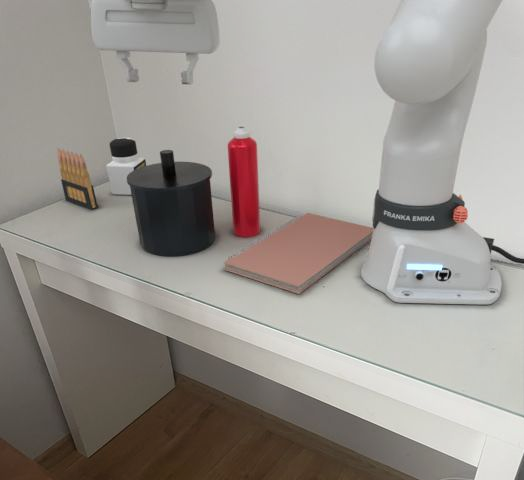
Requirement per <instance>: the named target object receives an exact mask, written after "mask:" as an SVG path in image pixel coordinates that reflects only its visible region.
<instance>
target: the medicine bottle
mask: <svg viewBox="0 0 524 480" xmlns="http://www.w3.org/2000/svg"><path fill="white" fill-rule="evenodd" d="M108 146H109V149H110V155H111V161H110V162H109V163H107V164H106V166H105V167H106V173H107V176H108V182H109V186H110V191H111V195H116V196H132V195H131V189H130V185H129V184H128V183H127V175H128V174H129V173H131V172H132V171H134V170H136V169H138V168H141V167H144V166H147V162H146V158H145V156H139V152H138V149H137V148H138V147H137V141H136V140H135V139H133V138H131V137H118V138H115V139H112V140H111V141H110V142H109V145H108Z"/></svg>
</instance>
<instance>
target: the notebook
mask: <svg viewBox="0 0 524 480" xmlns="http://www.w3.org/2000/svg"><path fill="white" fill-rule="evenodd" d="M373 229H374V228H373V226H372V227H371V226H367V225H363V224H359V223H354V222H350V221H345V220H341V219H337V218H332V217H328V216H323V215H319V214H315V213H310V212H306V213H305V214H302V215H301V214H299V215H297V216H295V217H293V218H291V219H290V220H288V221H287V222H285V223H283V224H281V225H279V226H278V227H276V228H275V229H273V230H271V231H270V232H267V233H266V234H264V235H263V236H260V237H259V238H258V239H256V240H254V241H252V242H251V243H249V244H247V245H245V246H244V247H242V248H241V249H239V250H237V251H235V252H233V253H231V254H229V256H228V257H227V260H224V261H223V264H224V265H225V268H223V270H224V271H227V272H230V273H232V274H235V275H238V276H242V277H245V278H249V279H251V280H254V281H257V282H261V283H263V284H266V285H270V286H273V287H276V288H278V289H282V290H284V291H285V290H286V291H288V292H292V293H294V294H297V295H300V294H301V293H302V292H304V291H305V290H307V289H308V288H309V287H311V286H312V285H314V283H316V282H317V281H319V280H320V279H321V278H323V276H325V275H326V274H328V273H329V272H331V270H333V269H334V268H336V267H337V266H338V265H339V264H340V263H342V262H343V261H345V260H346V259H347V258H349V257H350V256H352V255H353V254H354V253H355V252H357V251H359V249H361V248H362V247H363V246H364V245H366V244H368V243H369V242H371V239H372V234H373Z"/></svg>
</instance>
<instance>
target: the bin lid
mask: <svg viewBox="0 0 524 480" xmlns="http://www.w3.org/2000/svg"><path fill="white" fill-rule="evenodd" d="M174 155H175V154H174V150H171V149H163V150H160V151H159V157H160V162H157V163H152V164H148V165H147V164H146V166H144V167H141V168H138V169H136V170H134V171H132V172H131V173H129V174H128V175H127V183H128V184H129V185H130V186H131V187H133V188H136V189H139V190H145V191H176V190H182V189H187V188H192V187H195V186H198V185H201V184H203V183H205V182H207V181H208V180H209V179H210V180H211V178H212V177H213V170H212V169H211V167H210V166H208V165H206V164H203V163H200V162H193V161H175V156H174Z"/></svg>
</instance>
